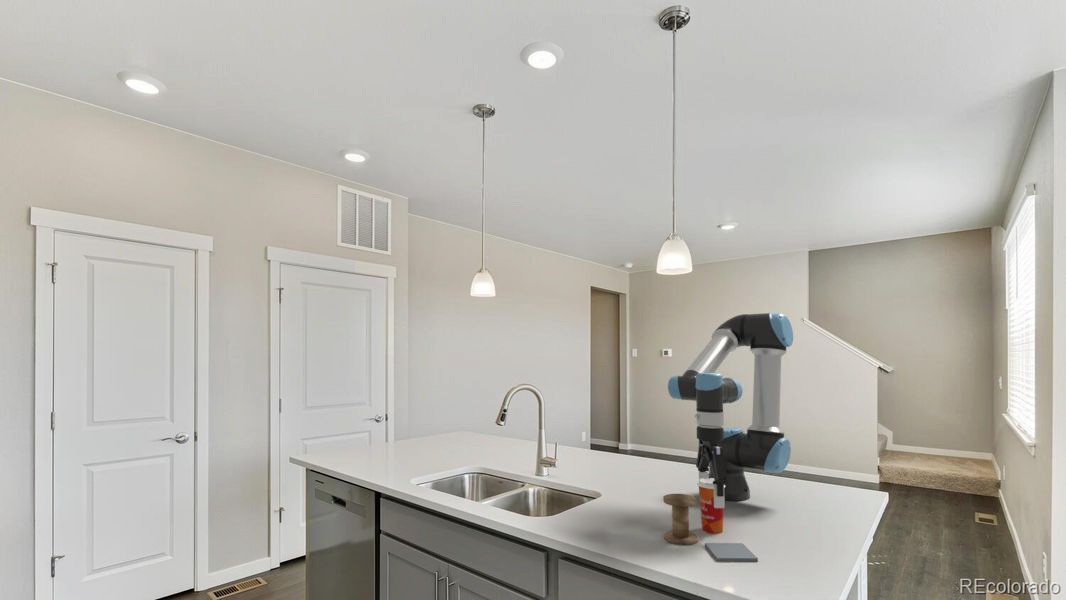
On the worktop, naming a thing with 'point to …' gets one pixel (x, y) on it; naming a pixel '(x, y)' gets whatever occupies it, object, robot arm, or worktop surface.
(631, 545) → the worktop surface
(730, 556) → the grey square tile
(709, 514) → the paper cup
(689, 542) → the bobbin
